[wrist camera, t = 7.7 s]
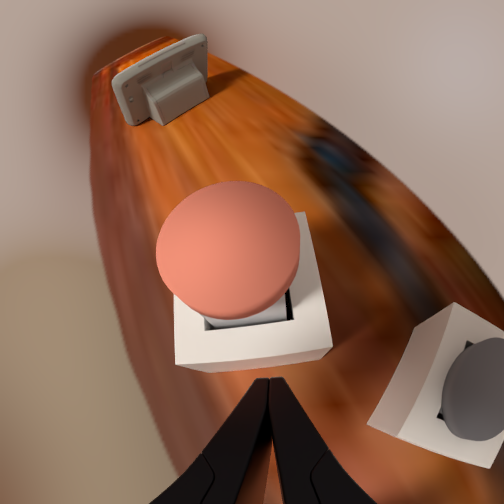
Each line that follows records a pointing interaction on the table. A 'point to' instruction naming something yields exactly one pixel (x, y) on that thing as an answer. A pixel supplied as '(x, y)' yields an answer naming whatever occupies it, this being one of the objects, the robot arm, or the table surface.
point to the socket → (434, 387)
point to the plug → (475, 392)
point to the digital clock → (164, 82)
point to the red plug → (231, 253)
